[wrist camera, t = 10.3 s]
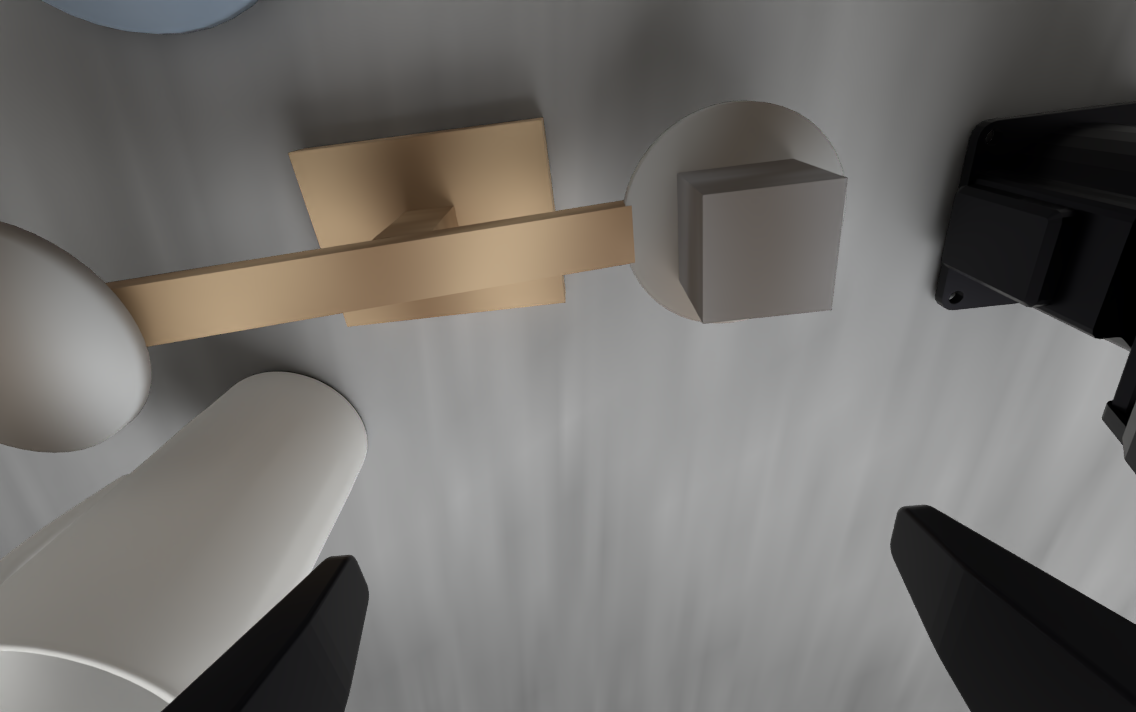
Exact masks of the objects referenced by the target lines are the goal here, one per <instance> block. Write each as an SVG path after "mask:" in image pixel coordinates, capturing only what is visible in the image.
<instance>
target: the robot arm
mask: <svg viewBox="0 0 1136 712" xmlns="http://www.w3.org/2000/svg"><path fill="white" fill-rule="evenodd" d="M991 130H993V131H994V135H993V137H992V139H991V140H990V141H989V142H988V143H986V137H987V135H988V133H989V132H990V131H991ZM942 262H943V263H942V267H941V272H940V276H939V281H938V286H937V290H936V295H935V300H936V302H937V303H938V304H939V305H941V306H943V307H944V308H946V309H948V310H959V309H968V308H977V307H987V306H996V305H1006V304H1015V303H1020V304H1022V305H1024V306H1026V307H1033V308H1035V309H1037V310H1039V311H1041V312H1043V313H1045V314H1047V315H1049V316H1051V317H1053V318H1055V319H1057V320H1059V321H1061V322H1064V323H1066V324H1068V325H1070V326H1072V327H1074V328H1076V329H1078V330H1080V331H1082V332H1084V333H1086V334H1088V335H1090V336H1092V337H1094V338H1098V339H1105V340H1107V341H1109V342H1111V343H1114V344H1116V345H1118V346H1120V347H1122V348H1124V349H1126V350H1128V351H1130V353H1129V356H1128V359H1127V362H1126V365H1125V367H1124V370H1123V373H1122V376H1121V379H1120V382H1119V385H1118V387H1117V390H1116V393H1115V396H1114V399H1113V400H1112V401H1108V402H1107V404H1106V407H1105V410H1104V413H1103V416H1102V420H1103V421H1104V422H1105V424H1106V425H1107V426H1108V427H1109V429H1110V430H1111V431H1112V432H1113V434H1114V435H1115V436H1116V437H1117V439H1118V440H1119V441H1120V442H1121V444H1122V445H1123V449H1124V458H1125V461H1126V462H1127V463H1128V465H1129V466H1130V467H1131V468H1132V470H1133V471H1134V472H1135V474H1136V101H1133V102H1125V103H1117V104H1109V105H1101V106H1093V107H1085V108H1077V109H1069V110H1061V111H1053V112H1045V113H1037V114H1029V115H1021V116H1013V117H1005V118H997V119H989V120H986V121H983V122H981V123H980V124H979V125H977V126H976V127H975V129H974V130H973V131H972V133H971V136H970V138H969V143H968V147H967V152H966V156H965V161H964V166H963V170H962V175H961V180H960V184H959V189H958V191H957V193H956V195H955V199H954V204H953V208H952V213H951V218H950V222H949V227H948V232H947V236H946V241H945V246H944V250H943V255H942ZM954 292H956V295H955V296H954V297H953V298H952V299H950V300H949V297H950V295H951V294H952V293H954ZM890 547H891V553H892V556H893V559H894V561H895V563H896V566H897V568H898V570H899V572H900V574H901V577H902V579H903V581H904V583H905V585H906V587H907V590H908V592H909V594H910V596H911V598H912V601H913V603H914V605H915V607H916V609H917V611H918V614H919V616H920V618H921V620H922V622H923V624H924V627H925V629H926V631H927V633H928V635H929V637H930V640H931V642H932V644H933V646H934V648H935V650H936V652H937V654H938V655H939V657H940V659H941V661H942V663H943V664H944V666H945V668H946V670H947V672H948V673H949V675H950V677H951V678H952V680H953V682H954V684H955V685H956V687H957V689H958V690H959V692H960V694H961V696H962V697H963V699H964V701H965V702H966V704H967V706H968V708H969V709H970V711H971V712H1136V624H1134V623H1132V622H1131V621H1129V620H1127V619H1125V618H1124V617H1122V616H1120V615H1118V614H1117V613H1115V612H1113V611H1112V610H1110V609H1108V608H1106V607H1105V606H1103V605H1101V604H1099V603H1098V602H1096V601H1094V600H1093V599H1091V598H1089V597H1087V596H1086V595H1084V594H1082V593H1080V592H1079V591H1077V590H1075V589H1074V588H1072V587H1070V586H1068V585H1067V584H1065V583H1063V582H1061V581H1060V580H1058V579H1056V578H1054V577H1053V576H1051V575H1049V574H1048V573H1046V572H1044V571H1042V570H1041V569H1039V568H1037V567H1035V566H1034V565H1032V564H1030V563H1029V562H1027V561H1025V560H1023V559H1022V558H1020V557H1018V556H1016V555H1015V554H1013V553H1011V552H1010V551H1008V550H1006V549H1004V548H1003V547H1001V546H999V545H997V544H996V543H994V542H992V541H991V540H989V539H987V538H985V537H984V536H982V535H980V534H978V533H977V532H975V531H973V530H972V529H970V528H968V527H966V526H965V525H963V524H961V523H959V522H958V521H956V520H954V519H952V518H951V517H949V516H947V515H946V514H944V513H942V512H940V511H939V510H937V509H935V508H933V507H931V506H928V505H915V506H904V507H901V508H900V509H899V510H898V512H897V516H896V520H895V524H894V529H893V533H892V538H891V543H890ZM368 600H369V591H368V586H367V583H366V581H365V579H364V576H363V574H362V572H361V569H360V567H359V565H358V563H357V560H356V559H355V557H353V556H352V555H341V556H331V557H328V558H327V559H325V560H324V561H323V562H322V563H320V564H319V565H318V566H317V567H316V568H315V569H314V570H313V571H312V572H311V573H310V574H309V575H308V576H306V577H305V578H304V579H303V580H302V581H301V582H300V583H299V584H298V585H297V586H296V587H295V588H294V589H292V590H291V591H290V592H289V593H288V594H287V595H286V596H285V597H284V598H283V599H282V600H281V601H280V602H278V603H277V604H276V605H275V606H274V607H273V608H272V609H271V610H270V611H269V612H268V613H267V614H266V615H264V616H263V617H262V618H261V619H260V620H259V621H258V622H257V623H256V624H255V625H254V626H253V627H252V628H250V629H249V630H248V631H247V632H246V633H245V634H244V635H243V636H242V637H241V638H240V639H239V640H238V641H236V642H235V643H234V644H233V645H232V646H231V647H230V648H229V649H228V650H227V651H226V652H225V653H223V654H222V655H221V656H220V657H219V658H218V659H217V660H216V661H215V662H214V663H213V664H212V665H211V666H209V667H208V668H207V669H206V670H205V671H204V672H203V673H202V674H201V675H200V676H199V677H198V678H197V679H195V680H194V681H193V682H192V683H191V684H190V685H189V686H188V687H187V688H186V689H185V690H184V691H183V692H181V693H180V694H179V695H178V696H177V697H176V698H175V699H174V700H173V701H172V702H171V703H170V704H169V705H167V706H166V707H165V708H164V709H163V710H162V711H161V712H344V711H345V707H346V704H347V700H348V697H349V692H350V688H351V684H352V679H353V675H354V670H355V665H356V660H357V655H358V650H359V645H360V640H361V635H362V630H363V625H364V620H365V616H366V611H367V606H368Z"/></svg>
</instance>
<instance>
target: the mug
mask: <svg viewBox="0 0 1136 712" xmlns="http://www.w3.org/2000/svg"><path fill="white" fill-rule="evenodd" d="M367 445H368V442H367V434H366V430H365V427H364V424H363V422H362V420H361V418H360V416H359V415H358V413H357V412H356V410H355V409H354V408H353V406H352V405H351V404H350V403H349V402H348V401H347V400H346V399H345V398H344V397H343V396H342V395H341V394H339V393H338V392H337V391H335V390H334V389H332V388H331V387H329V386H328V385H326V384H324V383H322V382H320V381H318V380H316V379H313V378H310V377H307V376H304V375H300V374H296V373H290V372H264V373H259V374H256V375H252V376H250V377H247V378H245V379H243V380H241V381H240V382H238V383H237V384H235V385H234V386H233V387H231V388H230V389H229V390H228V391H227V392H225V393H224V394H223V395H222V396H221V397H220V398H218V399H217V400H216V401H215V402H214V403H213V404H211V405H210V406H209V407H208V408H206V409H205V410H204V411H203V412H201V413H200V414H199V415H198V416H196V417H195V418H194V419H193V420H191V421H190V422H189V423H188V424H187V425H186V426H184V427H183V428H182V429H181V430H180V431H179V432H178V433H176V434H175V435H174V436H173V437H172V438H171V439H170V440H168V441H167V442H166V443H165V444H164V445H163V446H162V447H160V448H159V449H158V450H157V451H156V452H155V453H154V454H152V455H151V456H150V457H149V458H148V459H147V460H145V461H144V462H143V463H142V464H141V465H140V466H138V467H137V468H136V469H135V470H134V471H133V472H132V473H130V474H126V475H124V476H122V477H120V478H118V479H116V480H115V481H113V482H112V483H110V484H109V485H107V486H106V487H104V488H102V489H101V490H99V491H98V492H96V493H95V494H93V495H92V496H90V497H89V498H87V499H85V500H84V501H82V502H81V503H79V504H78V505H76V506H75V507H73V508H72V509H70V510H69V511H67V512H66V513H64V514H63V515H61V516H60V517H58V518H57V519H55V520H54V521H52V522H51V523H49V524H48V525H46V526H45V527H43V528H42V529H41V530H39V531H38V532H36V533H35V534H34V535H32V536H31V537H29V538H28V539H27V540H25V541H24V542H23V543H21V544H20V545H19V546H17V547H16V548H15V549H13V550H12V551H11V552H10V553H8V554H7V555H6V556H5V557H3V558H2V559H1V560H0V712H161V711H162V710H163V709H164V708H165V707H166V706H167V705H169V704H170V703H171V702H172V701H173V700H174V699H175V698H176V697H177V696H178V695H179V694H180V693H181V692H183V691H184V690H185V689H186V688H187V687H188V686H189V685H190V684H191V683H192V682H193V681H194V680H195V679H197V678H198V677H199V676H200V675H201V674H202V673H203V672H204V671H205V670H206V669H207V668H208V667H209V666H211V665H212V664H213V663H214V662H215V661H216V660H217V659H218V658H219V657H220V656H221V655H222V654H223V653H225V652H226V651H227V650H228V649H229V648H230V647H231V646H232V645H233V644H234V643H235V642H236V641H238V640H239V639H240V638H241V637H242V636H243V635H244V634H245V633H246V632H247V631H248V630H249V629H250V628H252V627H253V626H254V625H255V624H256V623H257V622H258V621H259V620H260V619H261V618H262V617H263V616H264V615H266V614H267V613H268V612H269V611H270V610H271V609H272V608H273V607H274V606H275V605H276V604H277V603H278V602H280V601H281V600H282V599H283V598H284V597H285V596H286V595H287V594H288V593H289V592H290V591H291V590H292V589H294V588H295V587H296V586H297V585H298V584H299V583H300V582H301V581H302V580H303V579H304V578H305V577H306V576H308V575H309V574H310V573H311V571H312V569H313V567H314V564H315V562H316V560H317V558H318V556H319V554H320V552H321V550H322V548H323V546H324V544H325V542H326V540H327V538H328V536H329V534H330V532H331V530H332V528H333V526H334V524H335V522H336V520H337V518H338V516H339V514H340V512H341V510H342V508H343V506H344V504H345V502H346V500H347V498H348V496H349V493H350V491H351V489H352V487H353V485H354V483H355V481H356V478H357V476H358V474H359V472H360V469H361V467H362V465H363V463H364V460H365V457H366V453H367Z"/></svg>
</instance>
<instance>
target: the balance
mask: <svg viewBox="0 0 1136 712" xmlns="http://www.w3.org/2000/svg"><path fill="white" fill-rule="evenodd" d="M288 154H289V157H290V160H291V163H292V166H293V169H294V172H295V175H296V178H297V181H298V184H299V186H300V189H301V192H302V195H303V198H304V201H305V204H306V207H307V210H308V213H309V216H310V219H311V221H312V224H313V227H314V230H315V233H316V236H317V239H318V242H319V245H320V248H321V249H315V250H309V251H302V252H296V253H290V254H284V255H277V256H271V257H265V258H259V259H252V260H246V261H240V262H234V263H227V264H221V265H215V266H209V267H202V268H196V269H190V270H183V271H177V272H171V273H165V274H158V275H152V276H146V277H140V278H133V279H127V280H121V281H115V282H108V283H105V282H104V281H103V280H101V279H100V278H99V277H98V276H97V275H96V274H95V273H94V272H93V271H91V270H90V269H89V268H88V267H87V266H85V265H84V264H83V263H81V262H80V261H79V260H77V259H76V258H75V257H73V256H72V255H71V254H69V253H67V252H66V251H64V250H63V249H61V248H59V247H58V246H56V245H55V244H53V243H51V242H49V241H47V240H45V239H43V238H41V237H39V236H37V235H36V234H33V233H31V232H29V231H26V230H24V229H21V228H19V227H16V226H14V225H10V224H7V223H4V222H0V444H3V445H7V446H11V447H15V448H19V449H24V450H31V451H37V452H52V453H56V452H71V451H77V450H83V449H86V448H89V447H93V446H95V445H98V444H100V443H102V442H104V441H106V440H107V439H109V438H110V437H111V436H113V435H114V434H115V433H117V432H118V431H119V430H121V429H122V428H123V427H124V426H126V425H127V424H128V423H129V422H131V421H132V420H133V419H134V418H135V417H136V416H137V415H138V414H139V413H140V411H141V410H142V408H143V406H144V405H145V403H146V401H147V398H148V396H149V393H150V388H151V382H152V369H151V362H150V357H149V352H148V349H147V347H149V346H154V345H160V344H166V343H172V342H178V341H183V340H189V339H195V338H201V337H207V336H212V335H218V334H224V333H230V332H236V331H241V330H247V329H253V328H259V327H265V326H270V325H276V324H282V323H288V322H294V321H299V320H305V319H311V318H317V317H323V316H328V315H334V314H340V313H343V315H344V318H345V321H346V324H347V326H348V327H349V326H358V325H367V324H376V323H385V322H394V321H403V320H412V319H421V318H430V317H439V316H448V315H457V314H466V313H475V312H484V311H493V310H502V309H511V308H520V307H529V306H538V305H547V304H556V303H565V283H564V276H563V275H566V274H572V273H578V272H584V271H589V270H595V269H601V268H607V267H613V266H618V265H624V264H630V266H631V268H632V270H633V272H634V275H635V276H636V278H637V280H638V281H639V283H640V284H641V286H642V287H643V288H644V289H645V291H646V292H647V293H648V294H649V295H650V296H651V297H652V298H653V299H654V300H655V301H656V302H657V303H659V304H660V305H662V306H663V307H665V308H666V309H667V310H669V311H671V312H673V313H675V314H677V315H679V316H682V317H685V318H688V319H691V320H695V321H700V322H702V323H703V324H706V323H732V322H738V321H744V320H747V319H752V318H761V317H771V316H780V315H789V314H799V313H808V312H817V311H826V310H832V302H833V294H834V285H835V277H836V269H837V261H838V253H839V244H840V236H841V228H842V224H843V219H844V214H845V205H846V187H847V177H844V174H843V170H842V166H841V163H840V161H839V158H838V156H837V153H836V151H835V150H834V148H833V146H832V145H831V143H830V141H829V140H828V139H827V137H826V136H825V135H824V134H823V133H822V131H821V130H820V129H819V128H818V127H817V126H815V125H814V124H813V123H812V122H811V121H810V120H808V119H807V118H805V117H804V116H802V115H800V114H799V113H797V112H795V111H793V110H790V109H788V108H785V107H783V106H779V105H775V104H771V103H766V102H756V101H729V102H724V103H719V104H714V105H711V106H709V107H706V108H703V109H700V110H698V111H696V112H694V113H692V114H690V115H688V116H686V117H684V118H683V119H681V120H680V121H678V122H677V123H675V124H674V125H672V126H671V127H670V128H669V129H667V130H666V131H665V132H664V133H663V134H662V135H660V136H659V137H658V138H657V140H656V141H655V142H654V143H653V144H652V145H651V146H650V147H649V148H648V150H647V151H646V153H645V154H644V156H643V157H642V158H641V160H640V161H639V163H638V165H637V167H636V169H635V171H634V172H633V174H632V177H631V179H630V182H629V184H628V187H627V190H626V194H625V198H624V200H622V201H616V202H609V203H603V204H597V205H591V206H584V207H578V208H572V209H565V210H559V211H555V206H554V198H553V190H552V182H551V175H550V167H549V159H548V151H547V143H546V136H545V128H544V120H543V117H541V118H534V119H526V120H519V121H511V122H503V123H496V124H488V125H480V126H473V127H465V128H457V129H450V130H442V131H434V132H427V133H419V134H411V135H404V136H396V137H388V138H381V139H373V140H365V141H358V142H350V143H343V144H335V145H327V146H320V147H312V148H305V149H301V150H297V151H293V152H290V153H288Z"/></svg>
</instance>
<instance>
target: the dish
mask: <svg viewBox="0 0 1136 712" xmlns="http://www.w3.org/2000/svg"><path fill="white" fill-rule="evenodd" d="M41 1H43V2H45V3H47V4H49V5H51V6H54V7H56V8H58V9H60V10H62V11H64V12H66V13H68V14H70V15H72V16H75V17H78V18H81V19H83V20H86V21H89V22H92V23H95V24H97V25H101V26H106V27H110V28H114V29H119V30H123V31H131V32H140V33H151V34H163V35H168V34H184V33H192V32H196V31H200V30H205V29H209V28H213V27H215V26H217V25H220V24H222V23H224V22H227V21H229V20H231V19H233V18H235V17H236V16H238V15H239V14H241V13H242V12H244V11H246V10H247V9H249V8H250V7H252V6H253V5H254V4H255V3H256V2H257V1H258V0H41Z"/></svg>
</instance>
